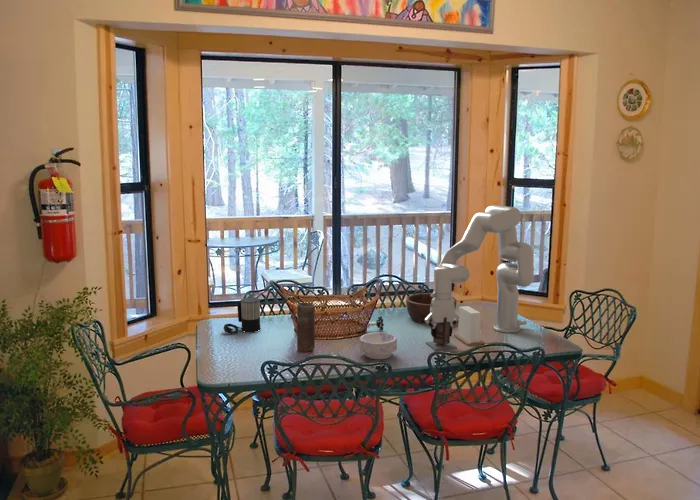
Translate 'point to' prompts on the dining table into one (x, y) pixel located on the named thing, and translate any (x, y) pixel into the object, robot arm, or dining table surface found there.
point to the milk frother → (247, 316)
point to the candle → (305, 327)
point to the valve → (377, 323)
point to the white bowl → (378, 345)
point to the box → (442, 333)
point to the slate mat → (440, 346)
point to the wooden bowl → (420, 306)
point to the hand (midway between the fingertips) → (441, 335)
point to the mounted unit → (469, 326)
